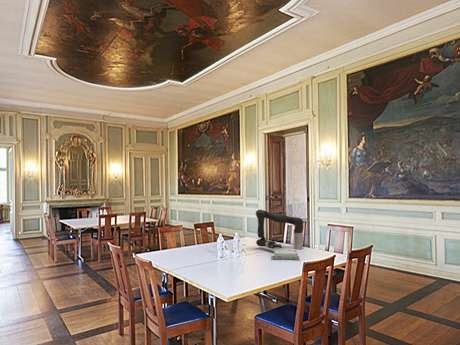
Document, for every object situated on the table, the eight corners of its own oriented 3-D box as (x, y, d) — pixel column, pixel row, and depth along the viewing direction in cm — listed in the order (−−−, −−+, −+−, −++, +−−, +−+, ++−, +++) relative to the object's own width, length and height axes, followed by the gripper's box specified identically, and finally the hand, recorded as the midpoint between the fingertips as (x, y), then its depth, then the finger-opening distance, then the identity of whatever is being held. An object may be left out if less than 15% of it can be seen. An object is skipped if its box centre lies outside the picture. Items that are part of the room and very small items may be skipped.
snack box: (296, 249, 308) (297, 253, 294) (296, 255, 308) (297, 259, 293) (274, 249, 311) (274, 253, 296) (274, 255, 311) (274, 259, 296)
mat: (271, 256, 311) (271, 255, 311) (298, 256, 307) (298, 256, 307) (271, 259, 295) (271, 259, 295) (299, 260, 291) (299, 260, 291)
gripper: (265, 241, 332) (276, 243, 317) (275, 240, 339) (286, 242, 324) (265, 248, 331) (276, 251, 317) (275, 247, 338) (286, 249, 323)
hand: (281, 246), depth 320 cm, fingers closed
